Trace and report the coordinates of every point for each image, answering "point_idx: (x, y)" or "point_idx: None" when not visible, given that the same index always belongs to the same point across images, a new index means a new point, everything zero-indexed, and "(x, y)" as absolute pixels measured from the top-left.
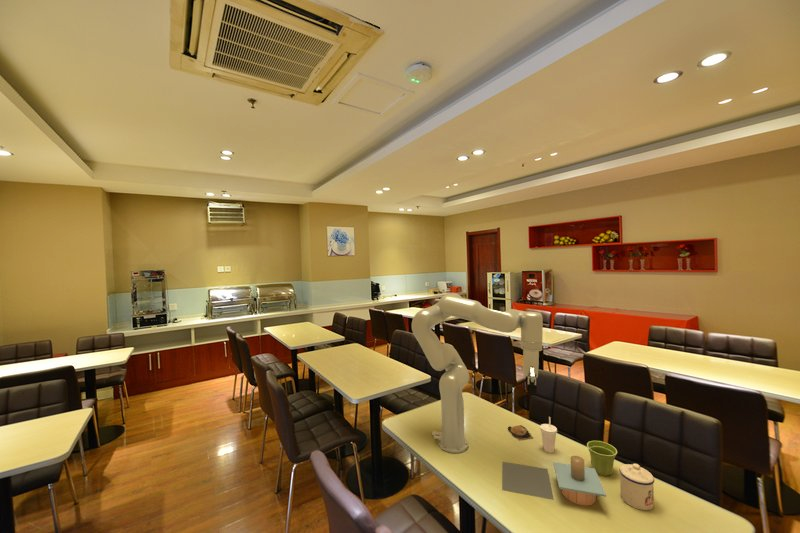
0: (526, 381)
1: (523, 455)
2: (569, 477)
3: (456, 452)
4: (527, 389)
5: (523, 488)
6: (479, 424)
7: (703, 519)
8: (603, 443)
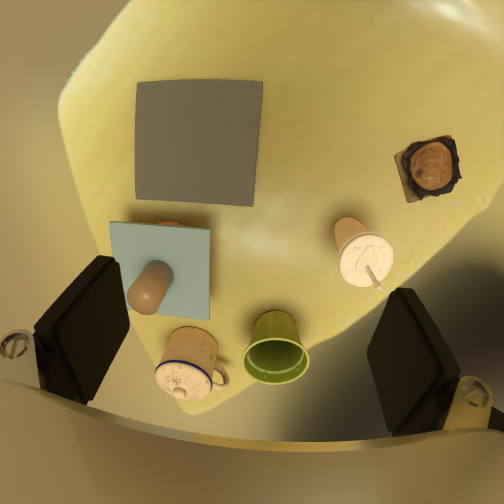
0: (404, 312)
1: (315, 150)
2: (150, 255)
3: None
4: (73, 285)
5: (153, 132)
6: (458, 57)
7: None
8: (301, 370)
